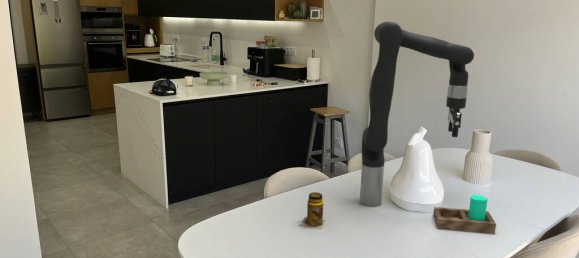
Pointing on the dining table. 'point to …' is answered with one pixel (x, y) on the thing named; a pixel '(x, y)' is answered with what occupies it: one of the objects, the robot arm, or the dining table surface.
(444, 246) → the dining table surface
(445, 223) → the slot rack
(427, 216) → the dining table surface
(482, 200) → the candle
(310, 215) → the condiment
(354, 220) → the dining table surface
